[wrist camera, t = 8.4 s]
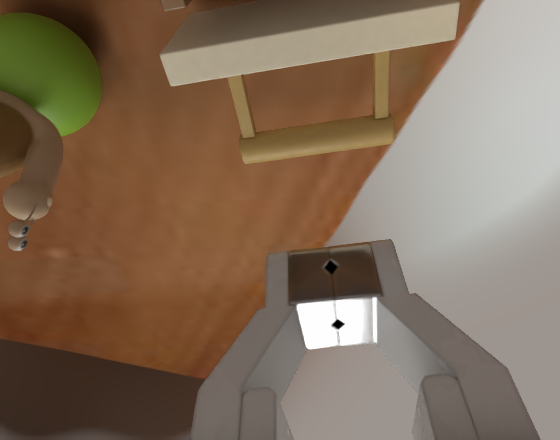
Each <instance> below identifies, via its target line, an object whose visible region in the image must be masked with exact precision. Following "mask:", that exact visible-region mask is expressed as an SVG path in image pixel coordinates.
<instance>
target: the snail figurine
mask: <svg viewBox="0 0 560 440" xmlns="http://www.w3.org/2000/svg"><path fill="white" fill-rule="evenodd" d="M101 97H102V76H101V72H100V69H99V66H98V63H97V61H96V59H95V57H94V55H93V54H92V52H91V50H90V49H89V48H88V46H87V45H86V44H85V43H84V42H83V40H82V39H81V38H80V37H79V36H77V35H76V34H75V33H74V32H73V31H71V30H70V29H69V28H67V27H66V26H64V25H62V24H61V23H59V22H57V21H55V20H53V19H50V18H48V17H45V16H41V15H37V14H32V13H22V12H17V13H7V14H3V15H0V178H1V177H4V176H7V175H9V174H11V173H13V172H15V171H17V170H19V169H20V168H21V167H22V166H24V165H25V167H24V170H23V173H22V175H21V178H20V180H19V181H18V182H16V183H14V184H12V185H11V186H9V187H8V188H7V190H6V191H5V193H4V195H3V204H4V206H5V208H6V210H7V211H8V212H9V213H10V214H11V215H13V216H14V217H16V218H19V219H22V220H25V221H22V220H16V221H13V222H12V223H11V224H10V225H9V228H8V230H9V233H10V234H11V235H12V236H11V237H10V238H9V240H8V246H9V247H10V248H11V249H12V250H14V251H20V250H22V249H24V248H25V246H26V245H27V242H28V240H27V238H26V237H25V236H26V235H27V234H28V232H29V231H30V229H31V227H32V226H33V224H34V221H35V220H36V219H39V218H41V217H43V216H45V215H46V214H47V213H48V211H49V208H50V206H51V205H52V202H53V199H52V191H53V189H54V187H55V185H56V182H57V180H58V176H59V172H60V169H61V165H62V160H63V143H62V138H61V136H65V135H68V134H71V133H73V132H75V131H77V130H79V129H80V128H82V127H83V126H84V125H86V124H87V123H88V122H89V121H90V120H91V119H92V117H93V116H94V114H95V113H96V111H97V109H98V107H99V104H100V101H101ZM28 220H31V224H30V226H28V224H27V222H28Z"/></svg>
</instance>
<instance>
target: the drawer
mask: <svg viewBox="0 0 560 440" xmlns="http://www.w3.org/2000/svg"><path fill="white" fill-rule="evenodd" d="M190 1H191V0H160V2H161V5H162V8H163V10H164V11H171V10H177V9H182V8H185V7H186V6H187V5H188V4H189V3H190ZM459 6H460V2H459V1H458V0H258V1H253V2H247V3H242V4H237V5H231V6H226V7H220V8H215V9H210V10H204V11H199V12H193V13H189V14H188V16H187V17H186V18H185V20H184V21H183V22H182V24H181V25H180V27H179V28H178V29H177V31H176V32H175V33H174V35H173V36H172V38H171V39H170V40H169V42H168V43H167V44H166V46H165V47H164V49H163V50H162V51H161V53H160V58H161V61H162V64H163V67H164V69H165V72H166V75H167V78H168V81H169V83H170V85H171V86H177V85H183V84H189V83H195V82H201V81H207V80H213V79H219V78H225V77H227V78H228V82H229V86H230V90H231V94H232V98H233V102H234V106H235V110H236V114H237V118H238V122H239V125H240V129H241V133H242V135H240V138H239V145H240V152H241V157H242V160H243V162H244V163H245V164H250V163H257V162H264V161H271V160H279V159H286V158H293V157H300V156H307V155H315V154H322V153H329V152H336V151H344V150H351V149H358V148H365V147H373V146H380V145H387V144H392V143H393V142H394V136H395V129H394V121H393V117H392V115H391V113H389V76H390V50H395V49H401V48H407V47H413V46H419V45H425V44H431V43H437V42H444V41H450V40H454V39H455V37H456V29H457V21H458V14H459ZM371 53H373V114H374V115H370V116H364V117H357V118H350V119H343V120H336V121H330V122H323V123H316V124H309V125H303V126H296V127H289V128H282V129H275V130H269V131H262V132H256V129H255V124H254V120H253V116H252V111H251V107H250V102H249V98H248V94H247V89H246V85H245V80H244V76H243V74H249V73H255V72H262V71H268V70H274V69H280V68H286V67H292V66H298V65H304V64H310V63H316V62H322V61H328V60H334V59H340V58H346V57H353V56H359V55H365V54H371Z"/></svg>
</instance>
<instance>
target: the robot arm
mask: <svg viewBox="0 0 560 440" xmlns="http://www.w3.org/2000/svg"><path fill="white" fill-rule="evenodd" d="M340 343H341V344H340ZM376 343H377V346H378V348H379V349H380V350H381V351H382V352H383V353H384V354H385V356H386V357H387V358H388V359H389V361H390V362H391V363H392V364H393V365H394V366H395V368H396V369H397V370H398V371H399V372H400V374H402V376H403V377H404V378H405V379H406V381H407V382H408V383H409V384H410V385H411V386H412V388H413V389H414V390H415V391H416V392H417V394H418V400H417V407H416V412H415V418H414V424H413V430H412V433H413V437H414V440H540V438H539V435H538V433H537V431H536V429H535V427H534V425H533V423H532V420H531V418H530V416H529V414H528V412H527V409H526V407H525V405H524V403H523V401H522V399H521V397H520V395H519V392H518V390H517V388H516V386H515V383H514V381H513V379H512V377H511V375H510V373H509V370H508V368H507V367H506V366H504V365H503V364H502V363H501V362H499V361H498V360H497V359H496V358H495V357H493V356H492V355H491V354H490V353H488V352H487V351H486V350H485V349H483V348H482V347H481V346H480V345H479V344H477V343H476V342H475V341H474V340H472V339H471V338H470V337H469V336H468V335H466V334H465V333H464V332H462V331H461V330H460V329H459V328H458V327H456V326H455V325H454V324H453V323H451V322H450V321H449V320H448V319H447V318H445V317H444V316H443V315H442V314H440V313H439V312H438V311H437V310H436V309H434V308H433V307H432V306H431V305H429V304H428V303H427V302H426V301H425V300H423V299H422V298H421V297H420V296H418V295H417V294H416V293H415V294H409V292H408V288H407V285H406V282H405V279H404V276H403V273H402V269H401V266H400V263H399V260H398V257H397V253H396V250H395V247H394V244H393V242H392V240H391V239H389V240H380V241H371V242H363V243H355V244H347V245H339V246H331V247H325V248H314V249H303V250H291V251H284V252H273V253H268V256H267V264H266V289H265V308H261V309H258V310H257V312H256V313H255V315H254V316H253V317H252V319H251V320H250V321H249V323H248V324H247V325H246V327H245V328H244V329H243V331H242V332H241V333H240V335H239V336H238V337H237V339H236V340H235V341H234V343H233V344H232V345H231V347H230V348H229V349H228V351H227V352H226V354H225V355H224V356H223V358H222V359H221V360H220V362H219V363H218V364H217V366H216V367H215V368H214V370H213V371H212V372H211V374H210V375H209V376H208V378H207V379H206V381H205V382H204V383H203V384H202V386H201V387H200V389H199V390H198V394H197V401H196V406H195V413H194V418H193V424H192V430H191V437H190V440H294V438H293V435H292V433H291V430H290V428H289V425H288V422H287V420H286V417H285V415H284V412H283V409H282V407H281V404H280V403H281V401H282V399H283V397H284V395H285V393H286V391H287V389H288V387H289V385H290V383H291V381H292V379H293V377H294V375H295V373H296V371H297V369H298V367H299V365H300V363H301V361H302V359H303V357H304V355H305V353H306V349H314V348H323V347H332V346H342V345H359V344H376Z"/></svg>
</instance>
